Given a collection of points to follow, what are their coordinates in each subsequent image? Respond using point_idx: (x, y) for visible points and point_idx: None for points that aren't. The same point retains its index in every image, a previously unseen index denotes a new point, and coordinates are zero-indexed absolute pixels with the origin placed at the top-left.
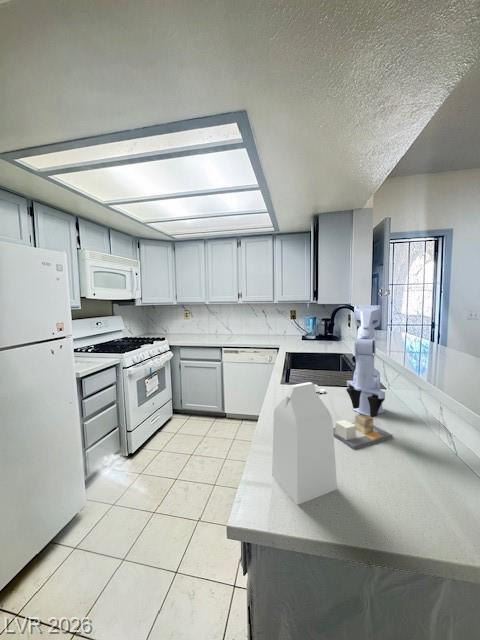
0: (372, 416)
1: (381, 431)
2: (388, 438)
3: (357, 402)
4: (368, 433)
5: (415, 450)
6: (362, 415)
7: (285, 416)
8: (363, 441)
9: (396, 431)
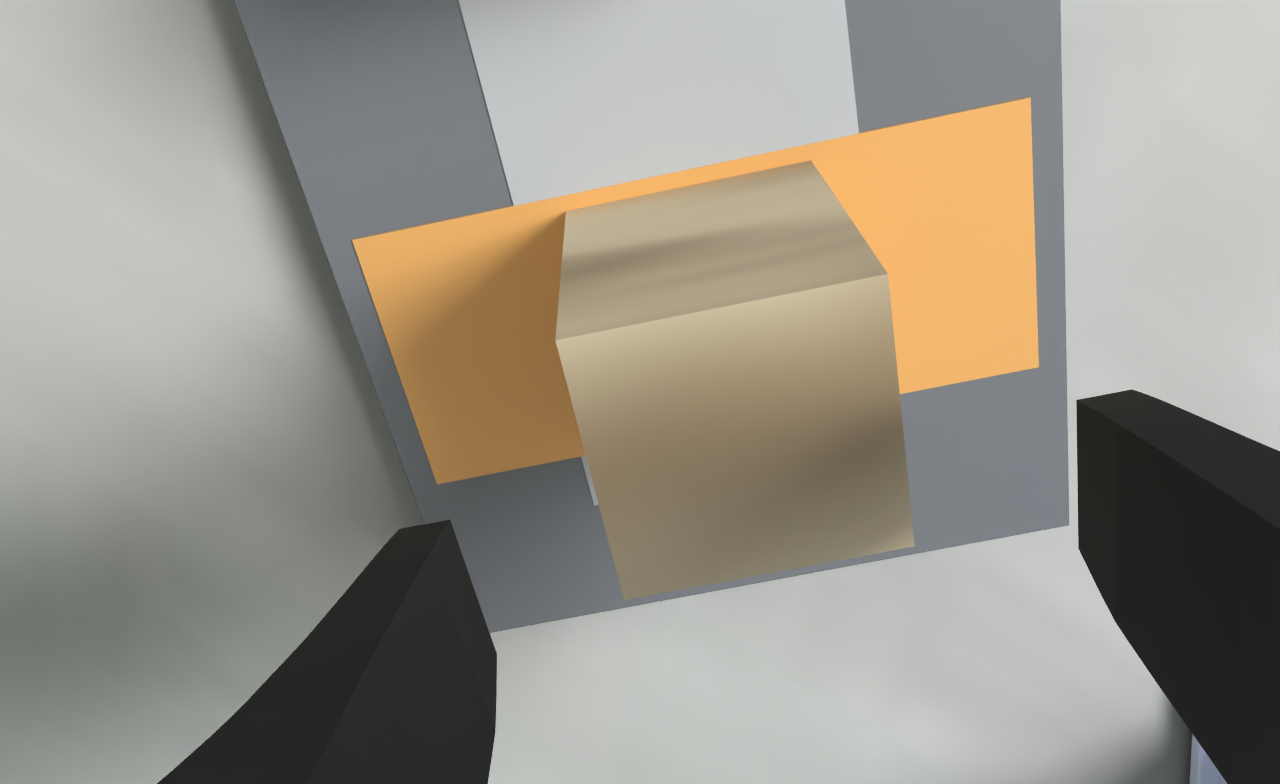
0: (389, 546)
1: (601, 554)
2: None
3: (1169, 621)
4: None
5: (86, 659)
6: (822, 446)
7: None
8: (298, 9)
9: (628, 754)
